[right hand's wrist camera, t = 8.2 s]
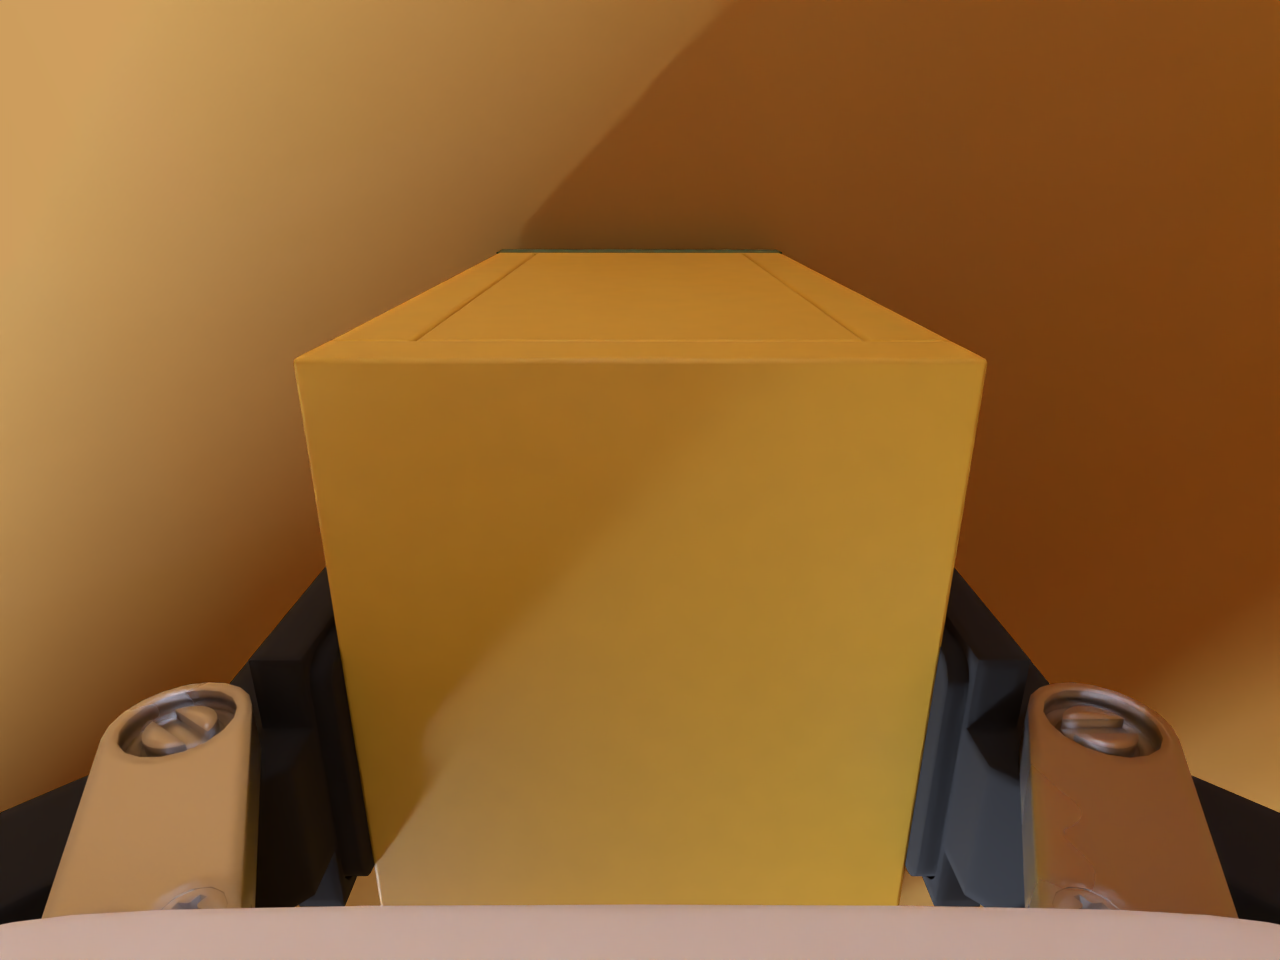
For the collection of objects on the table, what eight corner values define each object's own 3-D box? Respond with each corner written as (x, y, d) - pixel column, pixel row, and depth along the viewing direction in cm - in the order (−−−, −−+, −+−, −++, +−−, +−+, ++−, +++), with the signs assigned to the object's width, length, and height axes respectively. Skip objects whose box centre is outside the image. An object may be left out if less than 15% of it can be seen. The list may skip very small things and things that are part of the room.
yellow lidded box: (741, 812, 23) (829, 1345, 13) (536, 812, 23) (449, 1345, 13) (776, 249, 18) (992, 357, 7) (501, 249, 18) (288, 356, 7)
